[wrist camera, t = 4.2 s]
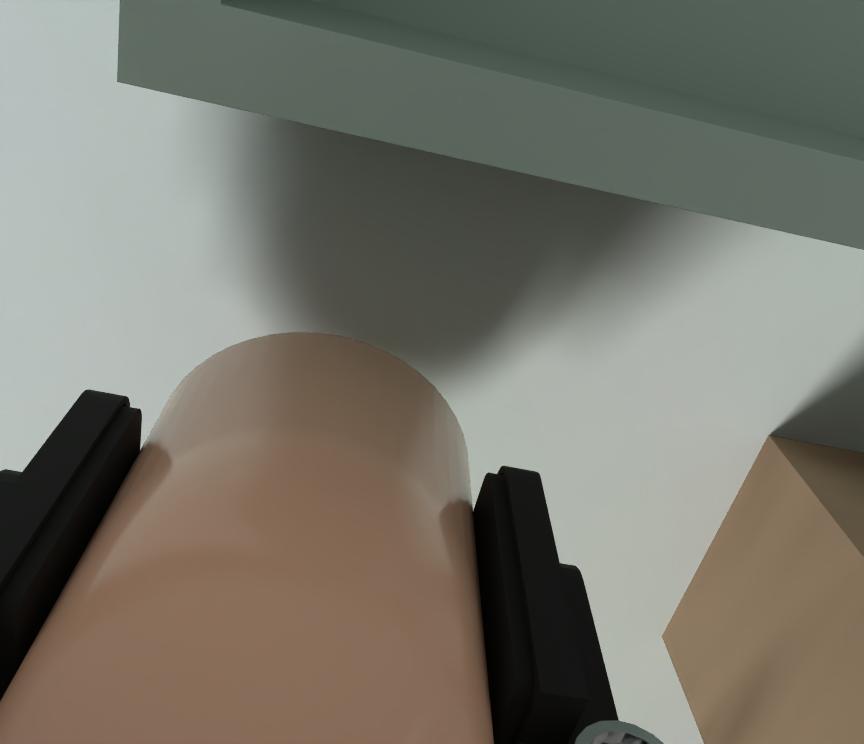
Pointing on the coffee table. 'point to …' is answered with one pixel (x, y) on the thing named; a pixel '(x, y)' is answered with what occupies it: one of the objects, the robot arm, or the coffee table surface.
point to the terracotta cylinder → (275, 568)
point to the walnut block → (780, 605)
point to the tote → (554, 90)
